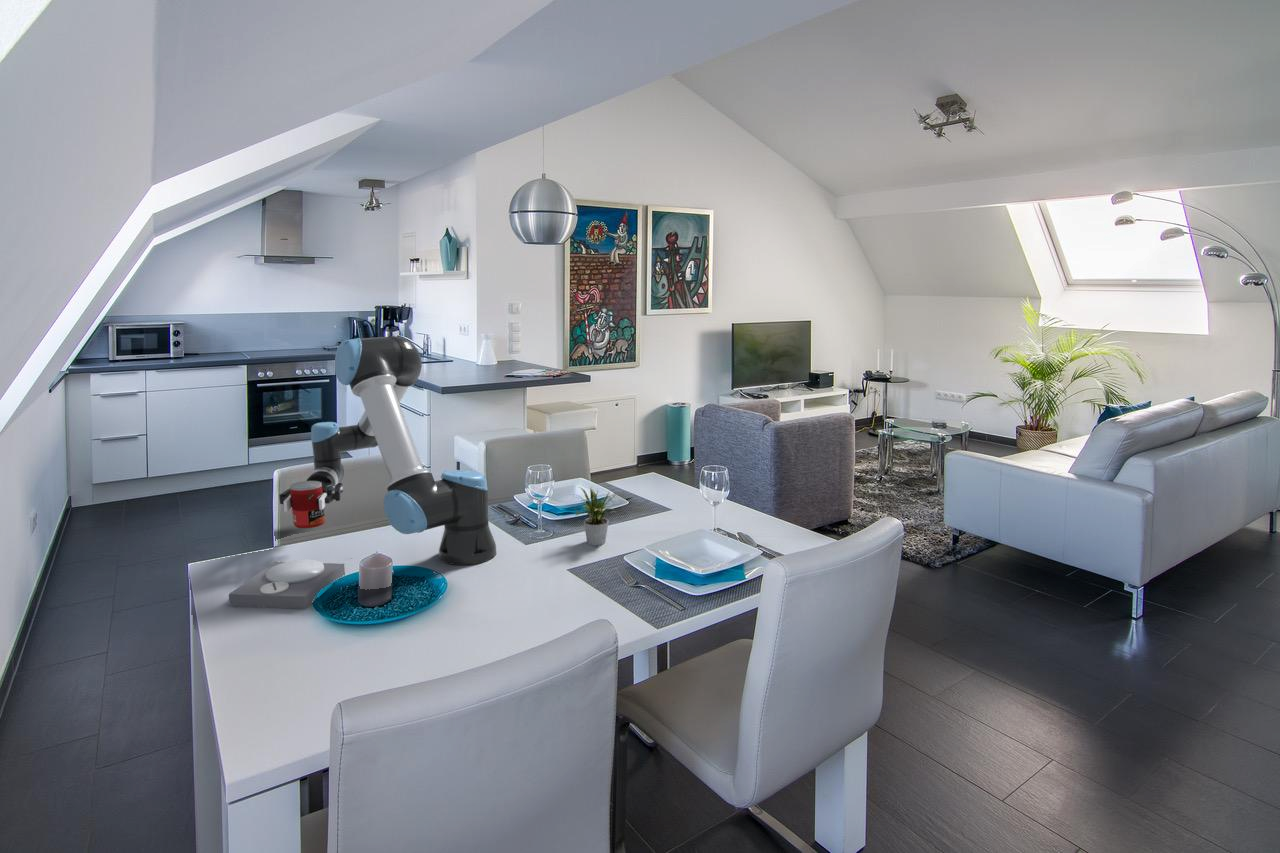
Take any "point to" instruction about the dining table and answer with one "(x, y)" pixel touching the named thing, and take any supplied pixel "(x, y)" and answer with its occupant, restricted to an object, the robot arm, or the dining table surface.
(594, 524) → the house plant
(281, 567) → the kitchen scale
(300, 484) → the canned food
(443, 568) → the dining table surface
